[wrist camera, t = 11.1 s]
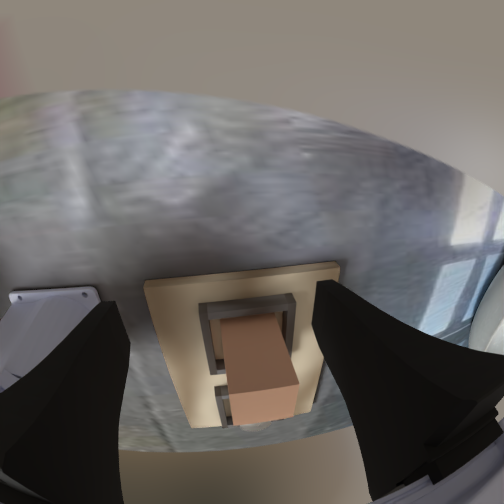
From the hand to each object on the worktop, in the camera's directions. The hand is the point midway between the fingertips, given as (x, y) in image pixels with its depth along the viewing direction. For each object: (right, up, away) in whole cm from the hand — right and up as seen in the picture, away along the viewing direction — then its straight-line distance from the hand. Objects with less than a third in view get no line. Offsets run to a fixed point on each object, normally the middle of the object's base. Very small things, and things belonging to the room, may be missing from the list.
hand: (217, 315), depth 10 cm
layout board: (+1, -8, +15) cm, 17 cm away
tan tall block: (+1, -4, +12) cm, 12 cm away
